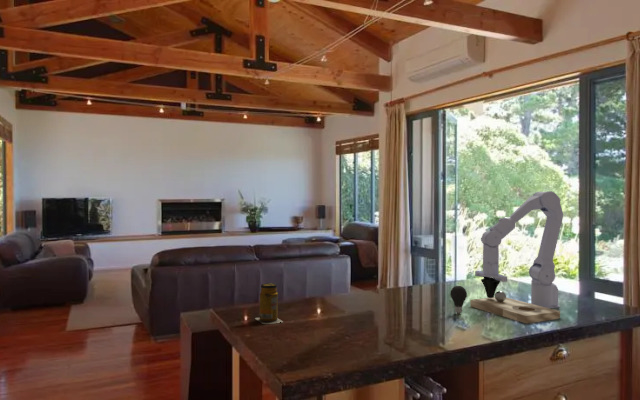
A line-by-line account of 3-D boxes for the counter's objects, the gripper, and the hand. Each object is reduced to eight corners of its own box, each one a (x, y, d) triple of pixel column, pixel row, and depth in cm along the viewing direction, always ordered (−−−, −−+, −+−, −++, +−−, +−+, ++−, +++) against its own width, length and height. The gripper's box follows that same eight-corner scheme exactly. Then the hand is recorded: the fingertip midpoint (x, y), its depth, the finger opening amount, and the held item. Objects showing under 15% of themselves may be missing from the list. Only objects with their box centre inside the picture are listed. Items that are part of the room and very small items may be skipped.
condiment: (274, 316, 159) (275, 281, 159) (283, 322, 151) (284, 286, 151) (254, 318, 156) (254, 283, 155) (262, 325, 148) (262, 288, 148)
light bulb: (467, 316, 161) (467, 287, 160) (451, 315, 162) (451, 286, 162) (465, 312, 166) (466, 284, 166) (449, 311, 167) (449, 284, 167)
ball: (500, 300, 175) (500, 289, 175) (508, 302, 171) (508, 291, 171) (492, 301, 173) (492, 290, 173) (500, 303, 169) (500, 292, 169)
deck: (501, 302, 182) (501, 296, 182) (560, 318, 158) (560, 311, 158) (470, 306, 175) (470, 299, 175) (526, 323, 152) (526, 315, 152)
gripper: (469, 260, 182) (469, 294, 182) (497, 265, 168) (497, 302, 168) (482, 259, 184) (482, 293, 184) (511, 264, 171) (511, 300, 171)
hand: (490, 297), depth 177 cm, fingers closed
